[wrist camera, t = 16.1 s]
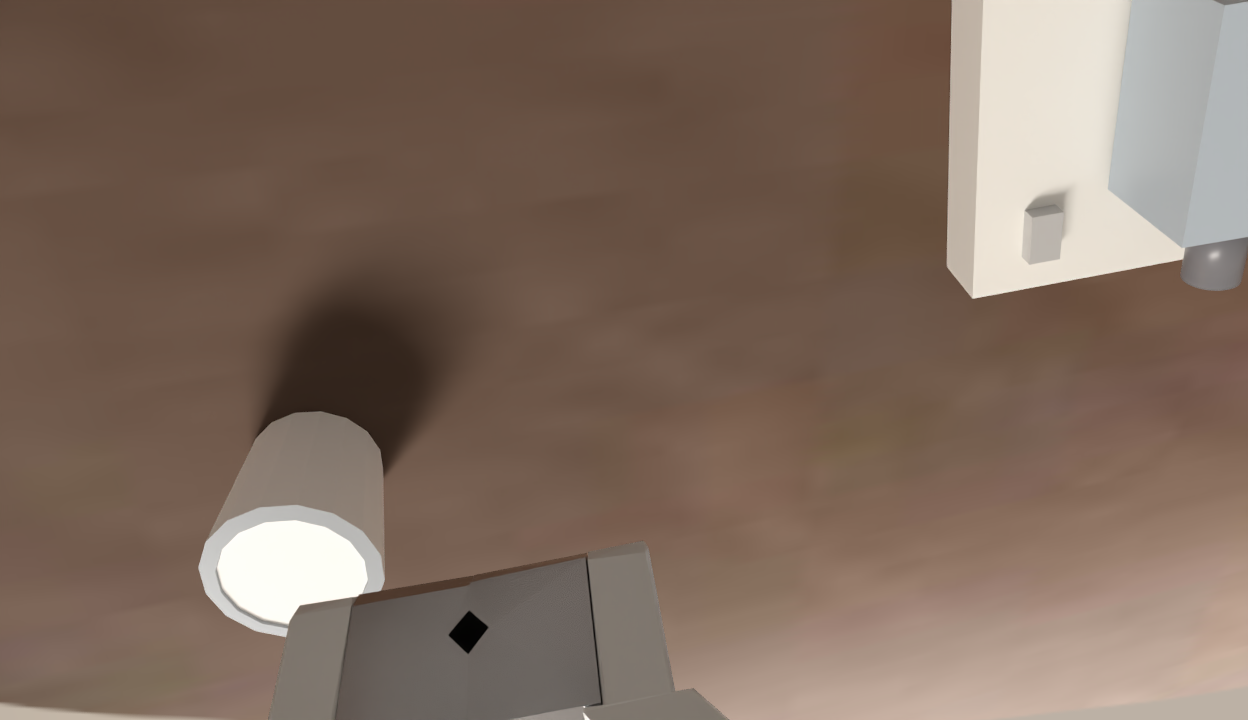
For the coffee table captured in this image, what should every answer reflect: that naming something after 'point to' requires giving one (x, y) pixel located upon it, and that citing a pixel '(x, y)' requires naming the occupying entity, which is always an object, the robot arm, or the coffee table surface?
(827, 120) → the coffee table surface
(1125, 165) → the plug
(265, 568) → the shot glass
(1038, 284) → the socket plate
